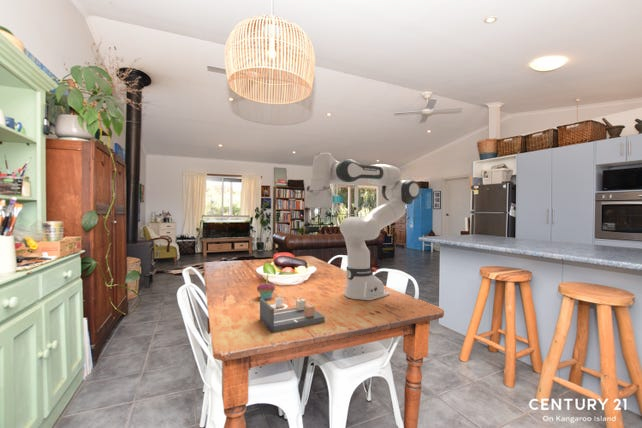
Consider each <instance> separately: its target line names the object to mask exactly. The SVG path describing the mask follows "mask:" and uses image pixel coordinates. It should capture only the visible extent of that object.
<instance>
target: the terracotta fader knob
mask: <svg viewBox="0 0 642 428" xmlns="http://www.w3.org/2000/svg"><path fill="white" fill-rule="evenodd" d="M315 310H316V309H315V306H314V304H311V303H310V304H306V305H304V315H305V316H307V317H311V316H315Z"/></svg>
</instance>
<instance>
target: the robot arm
mask: <svg viewBox="0 0 642 428" xmlns="http://www.w3.org/2000/svg"><path fill="white" fill-rule="evenodd" d="M312 162H313V163H312V168H311V173H312V177H311V179H310V183H309V185H308V186H306V187H305V191H306V192H307V193H306V195H305V206H306V208H309V212H310V217H311V218H316V213H315V210H316V209H320V210H321V212H320V213H319V218H320V219H325V217H326V213H327V211H328V209H331V208H332V207H333V204H334V197H333V196H334V195H333V191H332V188H331V184H343V183H353V182H356V181H357V180H360V179H363V180H365V179H366V180H367V183H368V184H370V185H374V186H379V187H380V186H381V195H382V197H383V198H384V200H386V201H387V202H384V203H382V204H380V205H378V206H376V207H373V209H371V210H370V211H369V213H367V214H366V215H363V216H348V217H345V218H343V219H342V220H341V221H340V223H339V231H340V233H341V235H342V236H343V238H344V242H345V246H346V251H347V266H346V284H345V290H344V294H343V295H344V296H345V297H347V299H348V298H349V299H353V300H361V301H362V300H363V301H373V300H376V299H379V298H383V297H387V296H389V291H387V290H385V286H384V283H383V282H382V280H380V278H378V277H377V276H376V275H374V273H376V272H377V267H371V251H370V249H369V247H367V244H366V241H372V240H375V239H377V238H378V237H379V236H380V234H381V230H382V229H384V228H386V227H387V226H388V227H389V226H390V225H392V224H394V223H395V222H397V221H399V220H400V219H401V218H402V217H403V216H405V214H406V212H407V206H406V205H410V204H412V203H413V201H415V200H416V199H417V198H418V197H419V194H420V191H421V190H420V185H419V184H418V182H417V181H415V180H412V179H407V180H402V179H401V176H402V172H401V170H400V169H399V168H398V167H397V166H394V165H391V164H385V163H376V164H370V165H369V164H361V163H359V162H357V161H355V160H354V159H350V158H347V159H344V160H342V161H338V160H336V159H335V158H334V157H333V155H332V154H331V153H330V152H319V153H317V154H315V156H314V158H313V161H312ZM373 272H374V273H373Z"/></svg>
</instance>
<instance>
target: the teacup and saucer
mask: <svg viewBox="0 0 642 428" xmlns="http://www.w3.org/2000/svg"><path fill="white" fill-rule="evenodd" d="M274 300H275V301H274V302H275V303H274V304H269V305H270V306H271V307H272V308H273V309H274V311H280V310H286V309H289V306H288V304H285V300H284V298H282V297H275V298H274ZM283 306H284V307H283ZM282 307H283V308H282Z"/></svg>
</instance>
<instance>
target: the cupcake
mask: <svg viewBox="0 0 642 428" xmlns="http://www.w3.org/2000/svg"><path fill="white" fill-rule="evenodd" d="M265 280H266V282H262V283H260V284H259V285H258V286H257V287H256V291H257V293H259V296H260V298H263V299H264V300H269V299H270V300H271V299H272V296H273V294H274V291H275V290H276V287H275V284H273V283H270V282H269V273H267V275H266V279H265Z"/></svg>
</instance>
